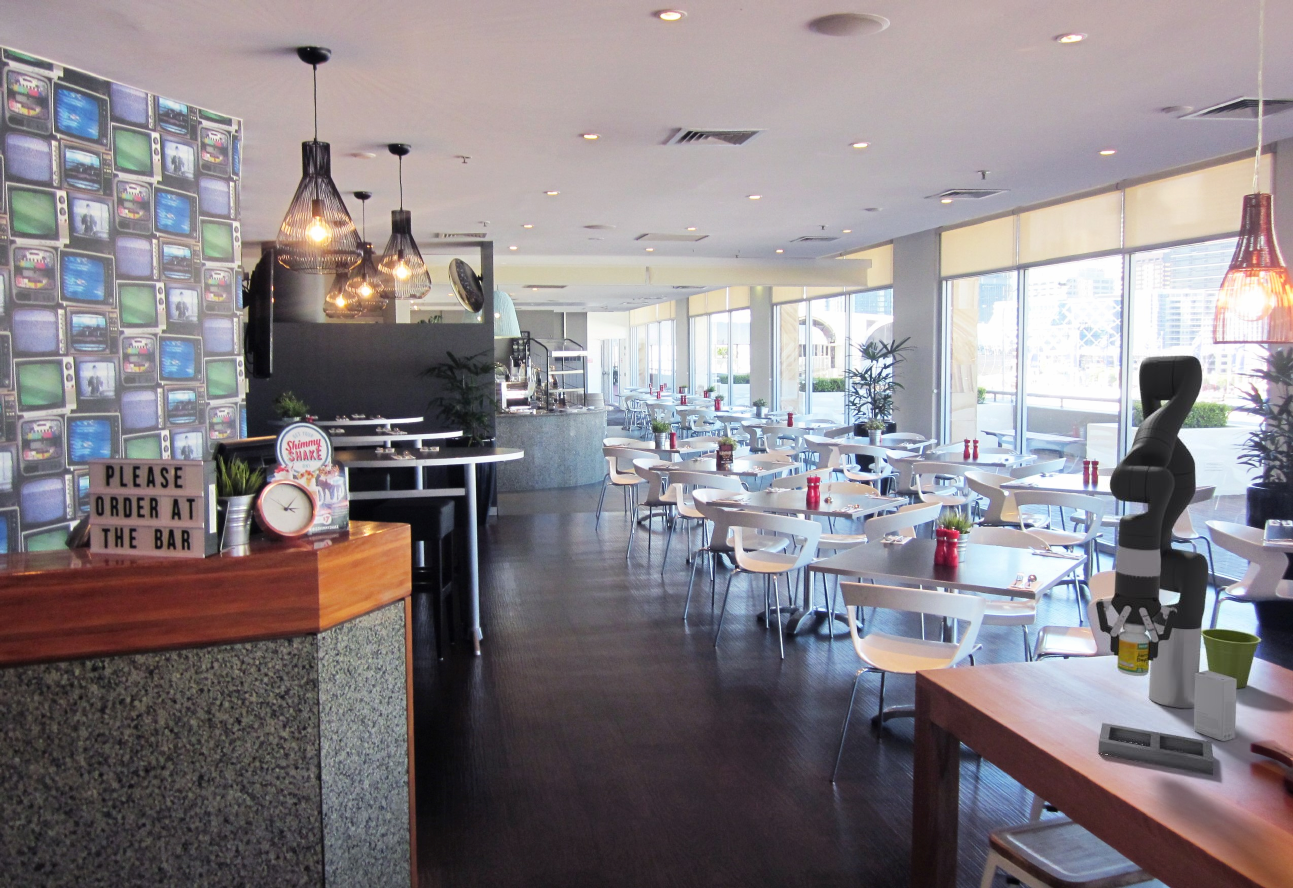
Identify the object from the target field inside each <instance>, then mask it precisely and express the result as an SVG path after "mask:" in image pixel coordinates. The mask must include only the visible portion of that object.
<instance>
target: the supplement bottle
mask: <svg viewBox="0 0 1293 888" xmlns="http://www.w3.org/2000/svg"><path fill="white" fill-rule="evenodd" d="M1122 629H1123V630H1122V631H1121V632H1120V633H1118V635H1119V645H1118V656H1117V664H1116V665H1117V667H1116V668H1117V670H1118V672H1120V673H1121V674H1124V675H1128V676H1133V677H1144V676H1147V675H1148V674H1149V671H1150V669H1149V668H1150V660H1149V651H1150V639H1151V638H1150V635H1149V634H1146V632H1148V631H1147V629H1146V626H1145V624H1144V625H1143V624H1138V623H1135V622H1134V623H1127V622H1126V621H1125V622H1124V624H1123V626H1122Z"/></svg>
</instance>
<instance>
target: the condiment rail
mask: <svg viewBox="0 0 1293 888" xmlns="http://www.w3.org/2000/svg"><path fill="white" fill-rule="evenodd" d="M1099 734H1100V735H1099V739H1098V752H1099V753H1102V754H1101V755H1103V754H1108V755H1111V756H1110V757H1114V756H1117V757H1116V758H1119V757H1122V758H1121V759H1124V758H1126V760H1130V759H1131V761H1135V760H1136V761H1137V762H1140V761H1141V762H1142V763H1146V764H1151V765H1157V766H1162V767H1169V768H1173V769H1179V770H1182V771H1183V770H1184V771H1189V772H1195V773H1200V774H1206V775H1210V776H1213V775H1214V754H1213V753H1214V752H1213V744H1212V741H1209V740H1204V739H1200V738H1199V739H1198V738H1194V737H1187V736H1182V735H1176V734H1175V735H1174V734H1168V733H1164V732H1158V731H1152V730H1147V729H1139V728H1134V727H1130V726H1124V725H1117V724H1111V723H1105V722H1102V723H1101V727H1100V733H1099ZM1111 739H1114V740H1111ZM1117 740H1120V741H1117ZM1123 741H1126V742H1123ZM1128 742H1132V743H1128ZM1134 743H1137V744H1134ZM1139 744H1143V745H1139ZM1145 745H1147V746H1145ZM1098 752H1097V753H1098ZM1184 752H1185V753H1184ZM1189 753H1190V754H1189ZM1108 755H1107V756H1108Z"/></svg>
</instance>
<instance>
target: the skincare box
mask: <svg viewBox="0 0 1293 888" xmlns="http://www.w3.org/2000/svg"><path fill="white" fill-rule="evenodd" d="M1236 686H1237V679H1235V678H1232V677H1228V676H1225V675H1222V674H1218V673H1215V672H1212V671H1209V670H1208V669H1207V670H1204V671H1203V670H1202V671H1199V673H1196V674H1195V707H1194V709H1193V710H1194V716H1193V717H1194V718H1193V719H1194V720H1193V722H1194V723H1193V731H1194V732H1196V733H1200V734H1202V735H1204V736H1207V737H1210V738H1212V739H1215V740H1218V741H1221V742H1227V741H1230V740H1234V739H1235V738H1236V721H1237V720H1236V718H1237V717H1236V716H1237V714H1236V713H1237V688H1236Z"/></svg>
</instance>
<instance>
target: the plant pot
mask: <svg viewBox="0 0 1293 888" xmlns="http://www.w3.org/2000/svg"><path fill="white" fill-rule="evenodd" d="M1201 637H1202V638H1203V639H1202V640H1203V644H1204V647H1205V654H1206V655H1205V656H1206V663H1207V668H1208V669H1207V670H1209V671H1212V672H1215V673H1218V674H1222V675H1225V676H1228V677H1232V678H1235V679H1237V686H1236V689H1241V688H1245V687H1247V685H1248V683H1249V682H1248V680H1249V677H1250V673H1251V669H1252V665H1253V661H1254V657H1255V653H1256V652H1257V649H1258V645H1259V644H1260V643H1261V642H1262V639H1261V638H1260V637H1259V636H1257V635H1255V634H1252V633H1249V632H1245V631H1240V630H1234V629H1224V628H1206V629H1201Z"/></svg>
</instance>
